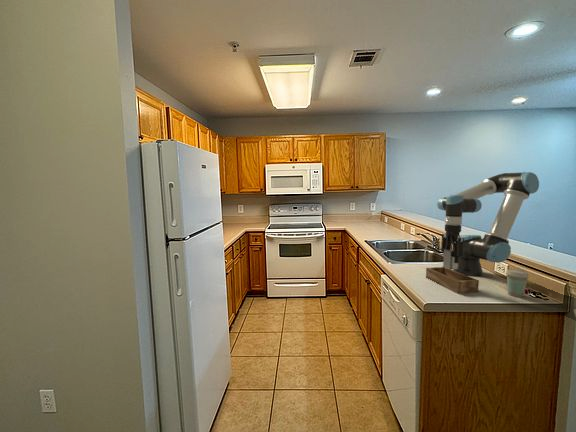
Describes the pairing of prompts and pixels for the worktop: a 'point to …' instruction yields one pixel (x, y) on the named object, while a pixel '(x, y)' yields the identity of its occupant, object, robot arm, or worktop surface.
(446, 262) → the dark grey block
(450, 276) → the wooden box
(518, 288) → the coffee cup
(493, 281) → the worktop surface
